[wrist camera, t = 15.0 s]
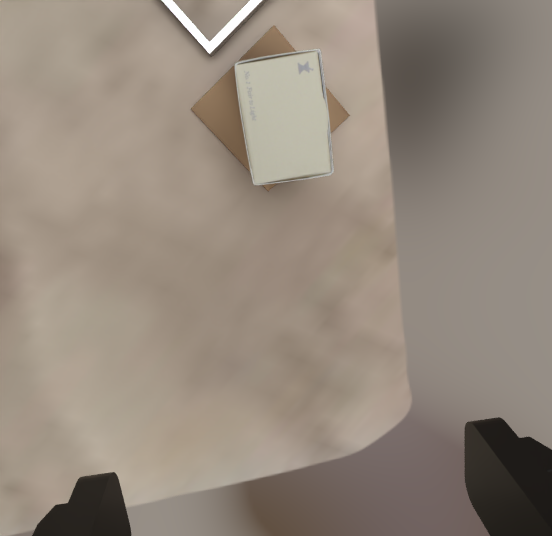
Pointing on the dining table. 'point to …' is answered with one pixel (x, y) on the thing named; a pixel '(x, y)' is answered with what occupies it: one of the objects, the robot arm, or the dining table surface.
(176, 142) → the dining table surface
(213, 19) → the dining table surface
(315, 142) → the skincare box
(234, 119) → the coaster
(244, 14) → the metal square frame
